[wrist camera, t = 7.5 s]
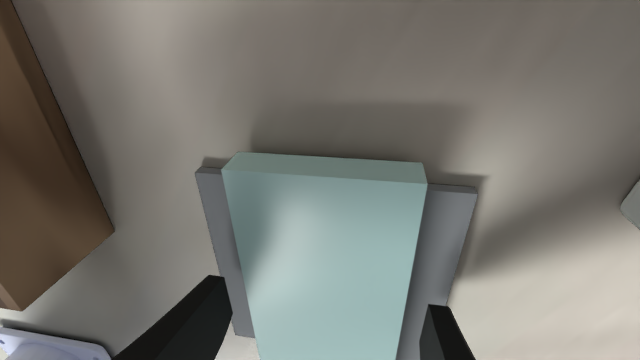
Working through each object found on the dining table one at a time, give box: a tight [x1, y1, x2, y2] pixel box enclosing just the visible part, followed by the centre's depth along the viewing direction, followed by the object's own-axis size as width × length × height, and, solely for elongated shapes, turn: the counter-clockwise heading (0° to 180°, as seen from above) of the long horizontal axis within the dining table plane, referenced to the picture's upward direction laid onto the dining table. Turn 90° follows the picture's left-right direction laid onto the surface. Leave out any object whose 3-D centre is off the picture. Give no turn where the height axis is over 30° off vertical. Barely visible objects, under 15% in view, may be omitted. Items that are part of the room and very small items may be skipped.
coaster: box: [195, 167, 478, 360], centre depth 12 cm, size 9×9×1 cm
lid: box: [221, 152, 428, 360], centre depth 11 cm, size 11×6×1 cm, turn 1°
